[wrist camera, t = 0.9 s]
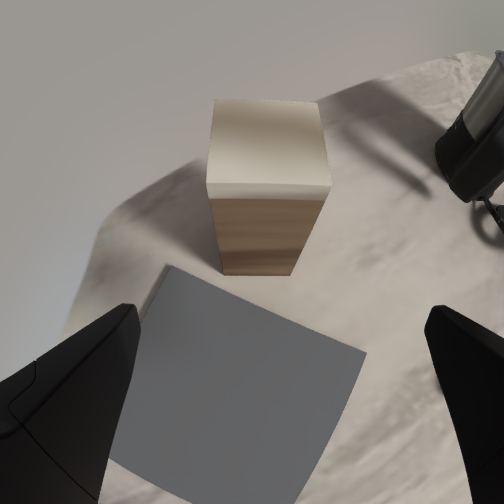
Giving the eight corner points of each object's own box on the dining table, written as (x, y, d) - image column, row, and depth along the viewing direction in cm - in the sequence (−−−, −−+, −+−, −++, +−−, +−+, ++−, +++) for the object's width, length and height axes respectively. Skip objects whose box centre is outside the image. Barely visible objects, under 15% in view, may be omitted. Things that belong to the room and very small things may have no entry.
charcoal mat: (274, 529, 16) (275, 532, 16) (88, 440, 18) (85, 441, 18) (364, 353, 22) (367, 353, 21) (173, 267, 24) (172, 265, 23)
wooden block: (289, 275, 24) (331, 185, 12) (224, 275, 24) (205, 183, 12) (287, 217, 26) (317, 103, 14) (226, 216, 25) (214, 99, 14)
